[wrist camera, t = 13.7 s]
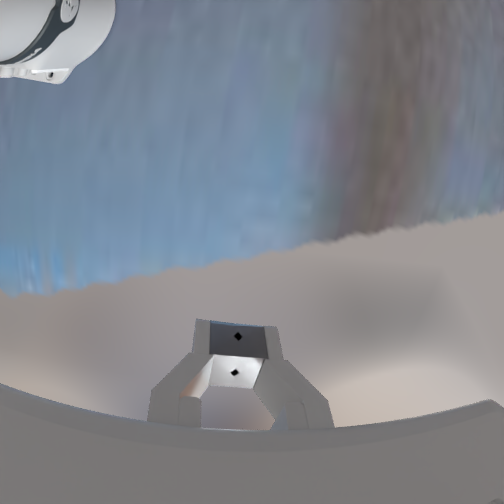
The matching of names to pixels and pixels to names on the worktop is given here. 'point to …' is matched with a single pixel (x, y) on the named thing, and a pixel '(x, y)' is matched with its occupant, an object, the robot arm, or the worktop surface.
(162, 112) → the worktop surface
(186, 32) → the worktop surface
